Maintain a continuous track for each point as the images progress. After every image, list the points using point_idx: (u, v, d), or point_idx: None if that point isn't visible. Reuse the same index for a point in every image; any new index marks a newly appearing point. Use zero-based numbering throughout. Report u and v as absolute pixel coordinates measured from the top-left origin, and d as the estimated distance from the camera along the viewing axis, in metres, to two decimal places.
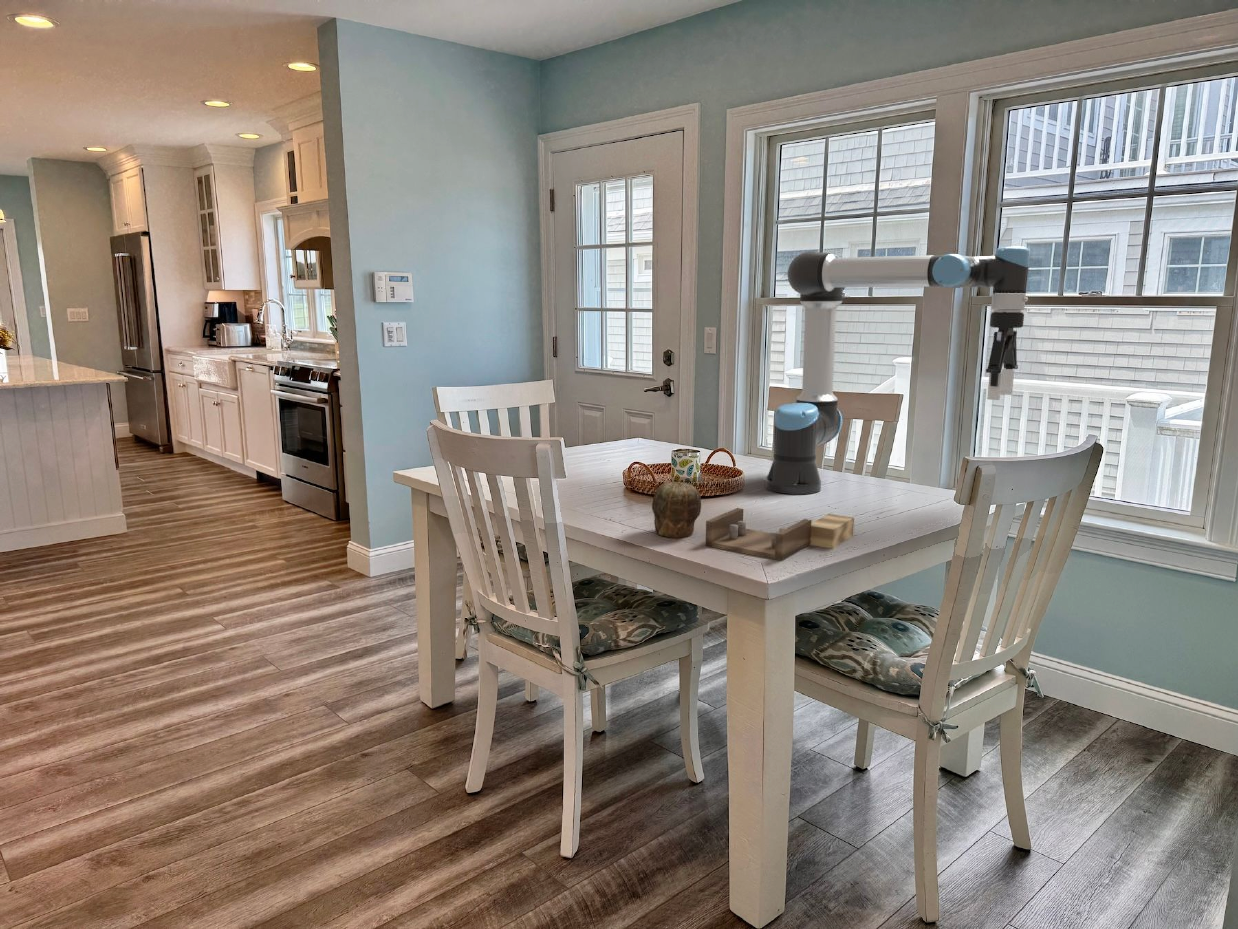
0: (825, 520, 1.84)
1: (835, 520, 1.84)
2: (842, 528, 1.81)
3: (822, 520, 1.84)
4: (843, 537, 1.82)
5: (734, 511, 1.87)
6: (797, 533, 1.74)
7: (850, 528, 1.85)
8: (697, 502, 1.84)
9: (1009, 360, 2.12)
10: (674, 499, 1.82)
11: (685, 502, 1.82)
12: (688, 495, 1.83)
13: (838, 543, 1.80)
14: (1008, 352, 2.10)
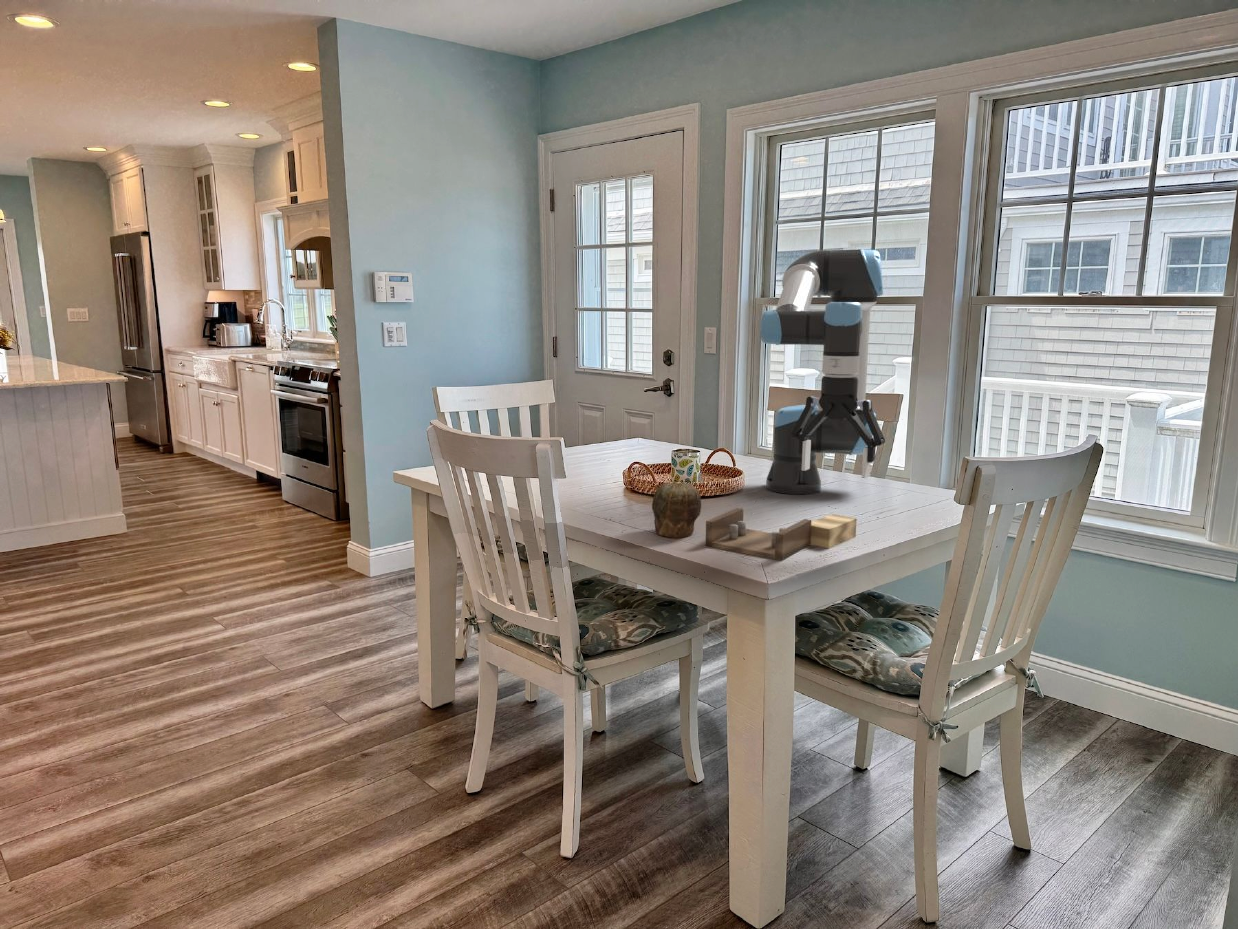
0: (826, 520, 1.84)
1: (835, 520, 1.84)
2: (841, 528, 1.81)
3: (822, 520, 1.84)
4: (843, 537, 1.82)
5: (734, 511, 1.87)
6: (797, 533, 1.74)
7: (852, 529, 1.85)
8: (697, 502, 1.84)
9: None
10: (674, 499, 1.82)
11: (685, 502, 1.82)
12: (688, 495, 1.83)
13: (836, 543, 1.80)
14: None
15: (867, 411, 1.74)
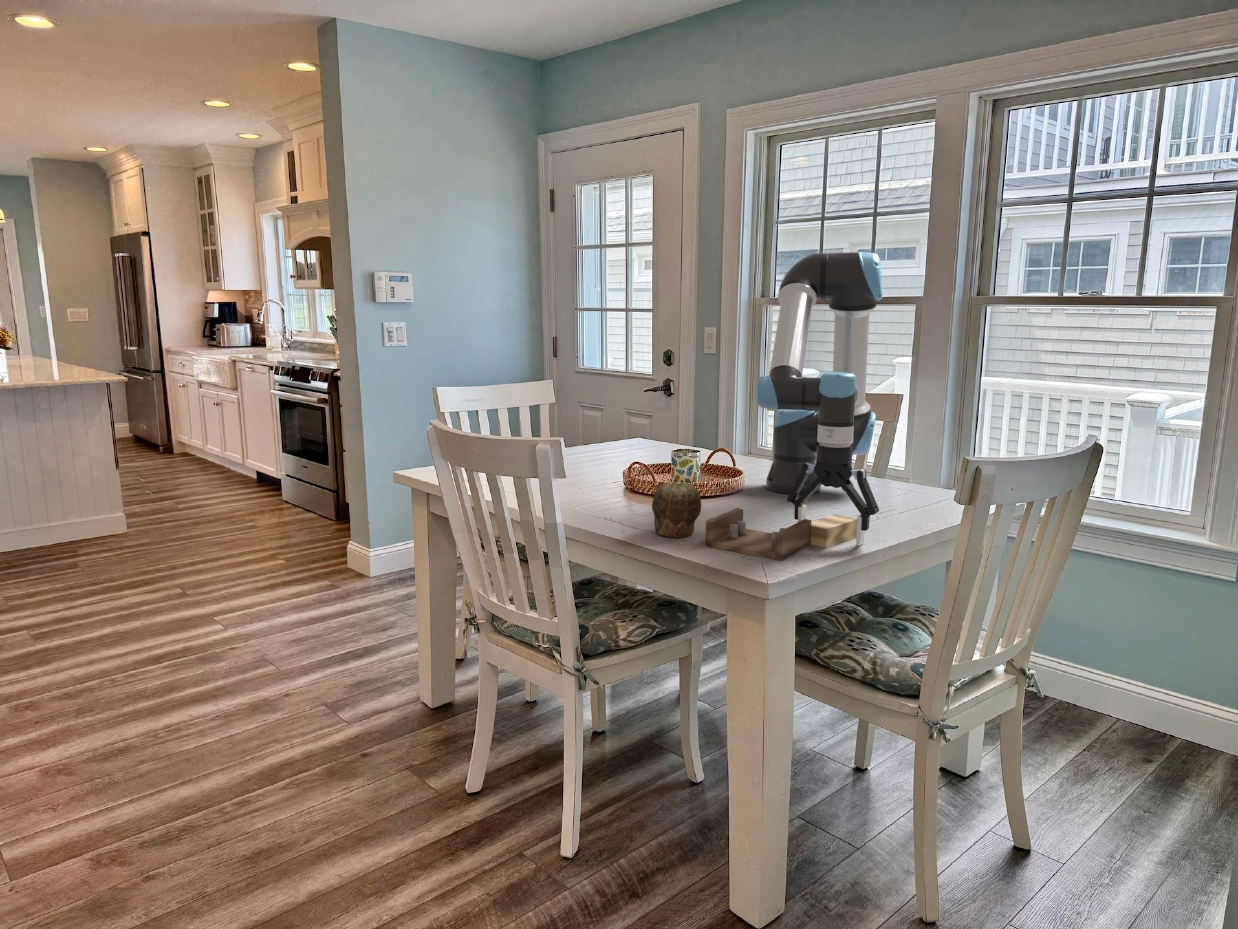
0: (826, 520, 1.84)
1: (836, 521, 1.84)
2: (840, 529, 1.81)
3: (823, 520, 1.84)
4: (842, 538, 1.82)
5: (734, 511, 1.87)
6: (797, 533, 1.74)
7: (853, 529, 1.84)
8: (697, 502, 1.84)
9: None
10: (674, 499, 1.82)
11: (685, 502, 1.82)
12: (688, 495, 1.83)
13: (834, 543, 1.80)
14: None
15: (861, 481, 1.76)
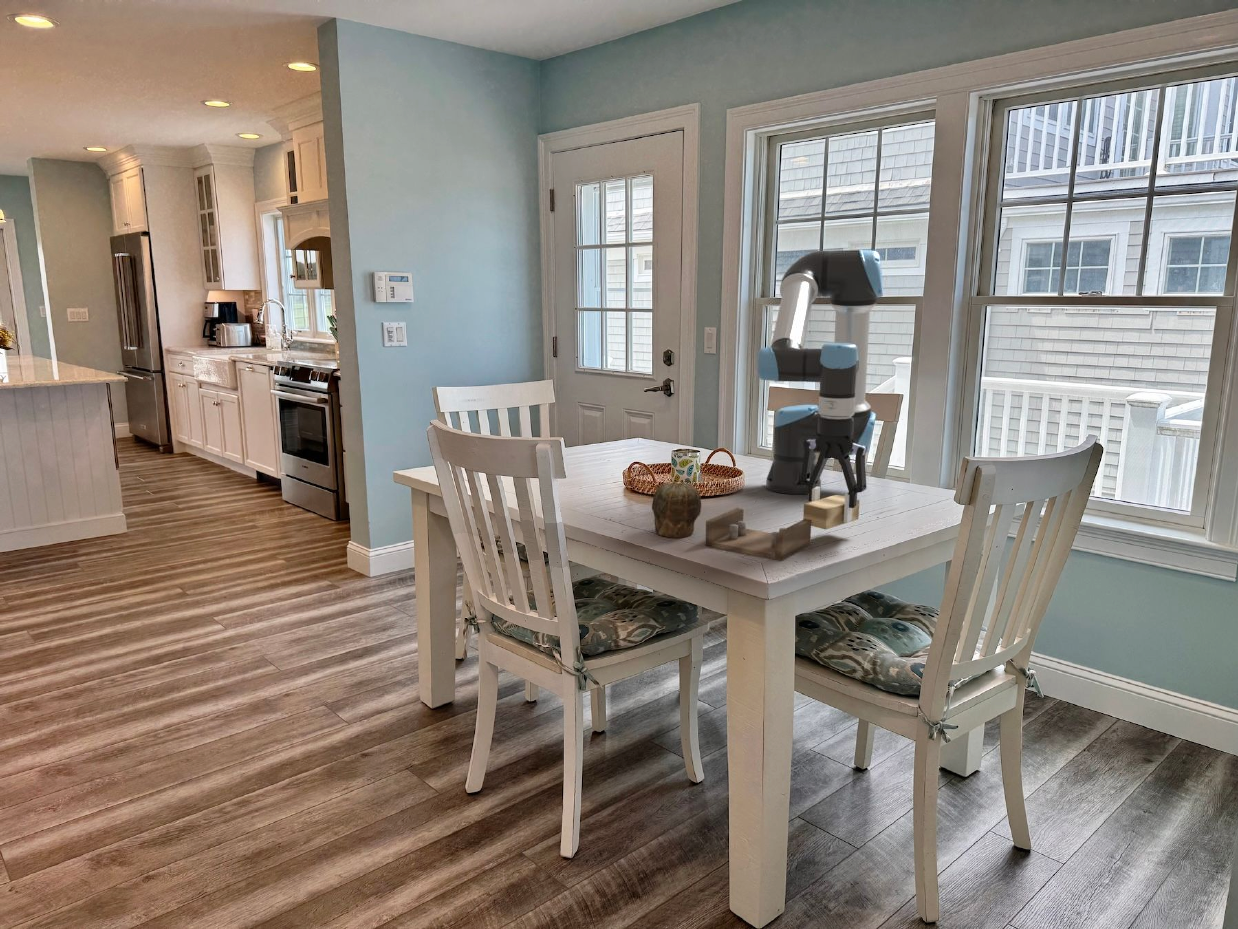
0: (827, 500, 1.84)
1: (837, 501, 1.83)
2: (840, 509, 1.80)
3: (824, 500, 1.84)
4: (843, 518, 1.82)
5: (734, 511, 1.87)
6: (797, 533, 1.74)
7: (854, 510, 1.84)
8: (697, 502, 1.84)
9: None
10: (674, 499, 1.82)
11: (685, 502, 1.82)
12: (688, 495, 1.83)
13: (834, 523, 1.80)
14: None
15: (859, 457, 1.76)
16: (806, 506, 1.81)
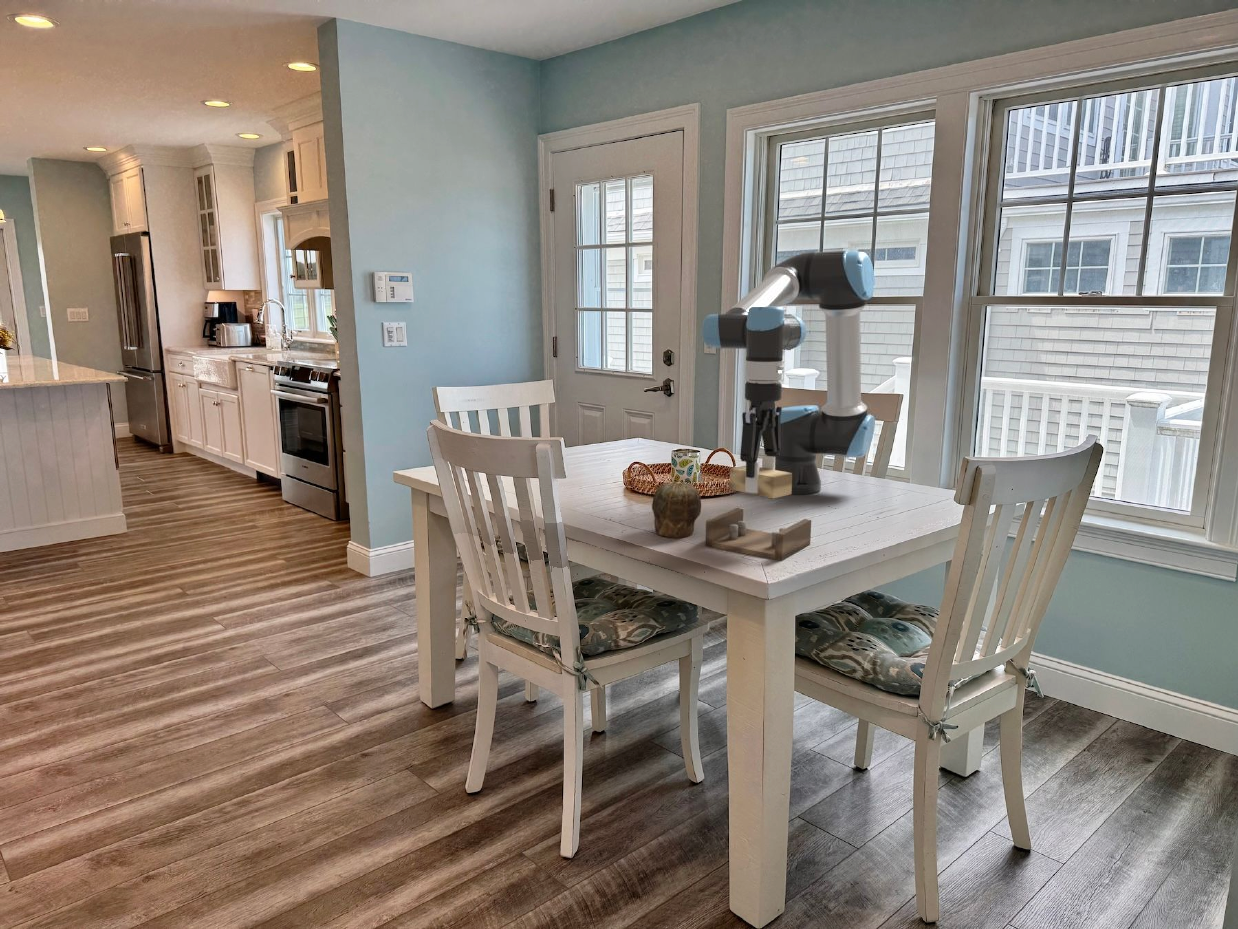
0: None
1: None
2: None
3: None
4: None
5: (734, 511, 1.87)
6: (797, 533, 1.74)
7: None
8: (697, 502, 1.84)
9: (769, 443, 1.78)
10: (674, 499, 1.82)
11: (685, 502, 1.82)
12: (688, 495, 1.83)
13: None
14: (767, 431, 1.77)
15: (780, 417, 1.79)
16: (775, 478, 1.71)
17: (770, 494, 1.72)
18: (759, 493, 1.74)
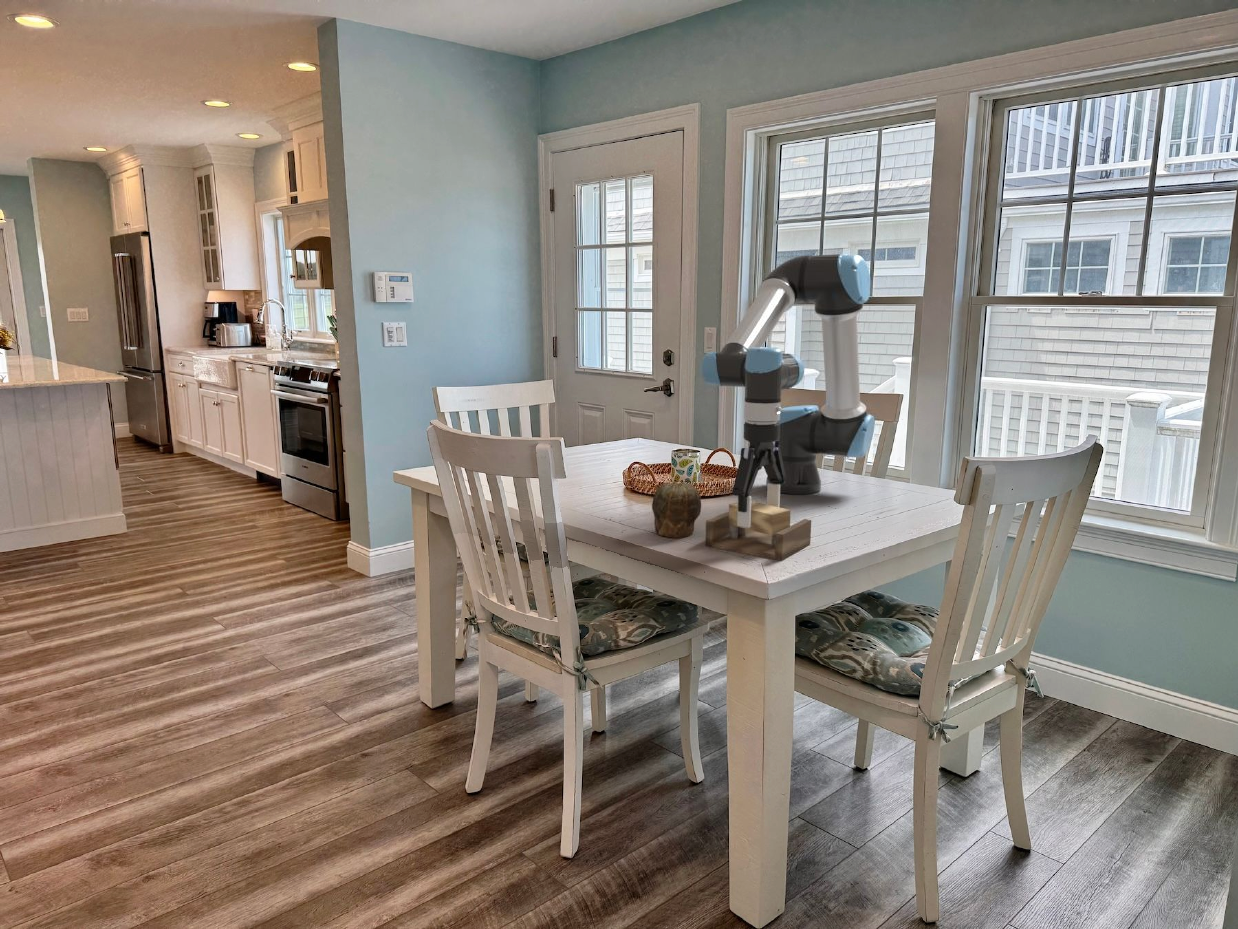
0: (756, 508, 1.78)
1: (757, 505, 1.80)
2: None
3: (755, 508, 1.77)
4: None
5: None
6: (797, 533, 1.74)
7: None
8: (697, 502, 1.84)
9: (773, 475, 1.81)
10: (674, 499, 1.82)
11: (685, 502, 1.82)
12: (688, 495, 1.83)
13: None
14: (769, 466, 1.80)
15: (780, 450, 1.81)
16: (774, 516, 1.73)
17: (768, 531, 1.73)
18: (758, 530, 1.76)
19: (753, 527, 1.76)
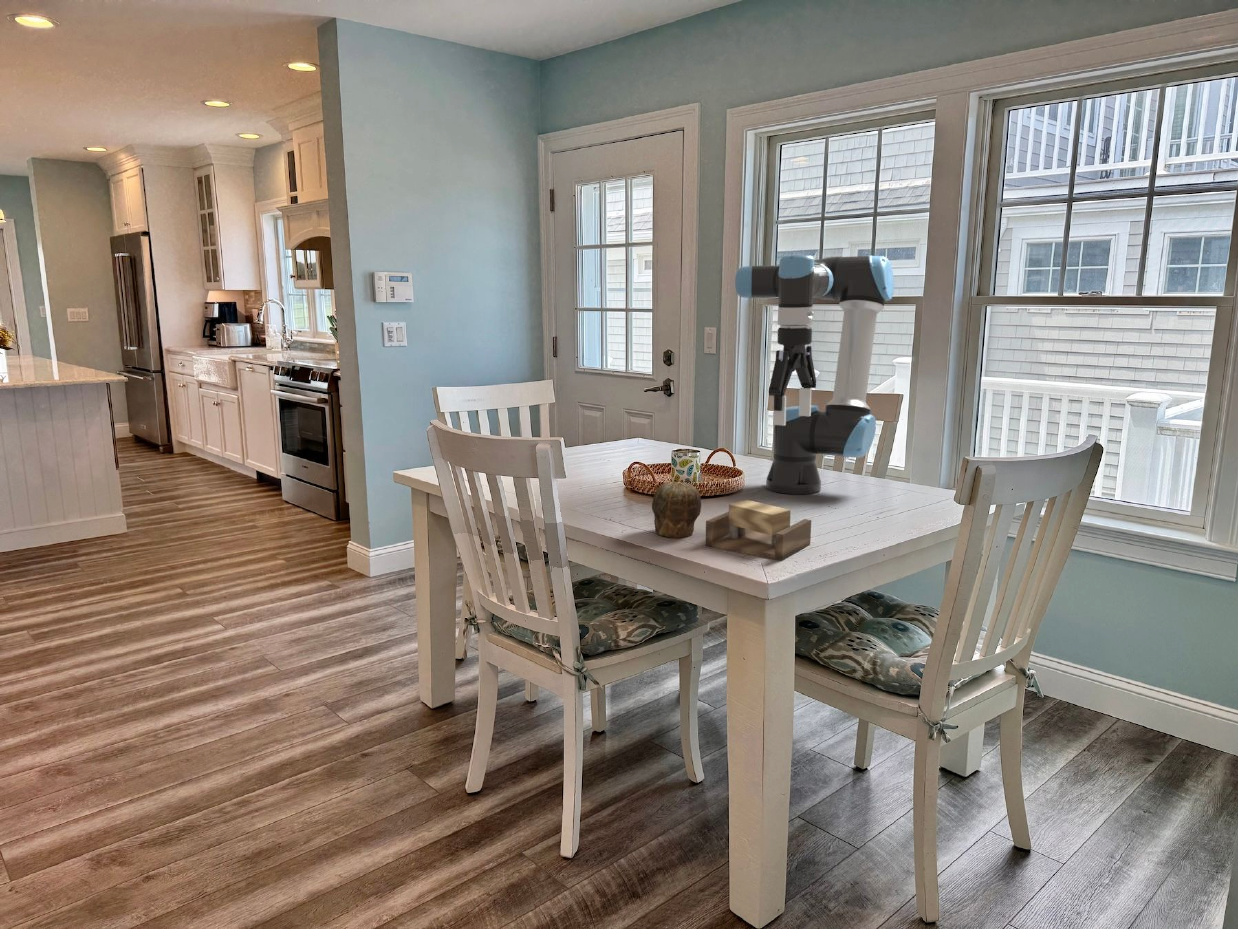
0: (756, 508, 1.78)
1: (757, 505, 1.80)
2: None
3: (755, 508, 1.77)
4: None
5: None
6: (797, 533, 1.74)
7: None
8: (697, 502, 1.84)
9: (804, 379, 1.93)
10: (674, 499, 1.82)
11: (685, 502, 1.82)
12: (688, 495, 1.83)
13: None
14: (801, 370, 1.91)
15: (811, 355, 1.92)
16: (774, 516, 1.73)
17: (768, 531, 1.73)
18: (758, 530, 1.76)
19: (753, 527, 1.76)
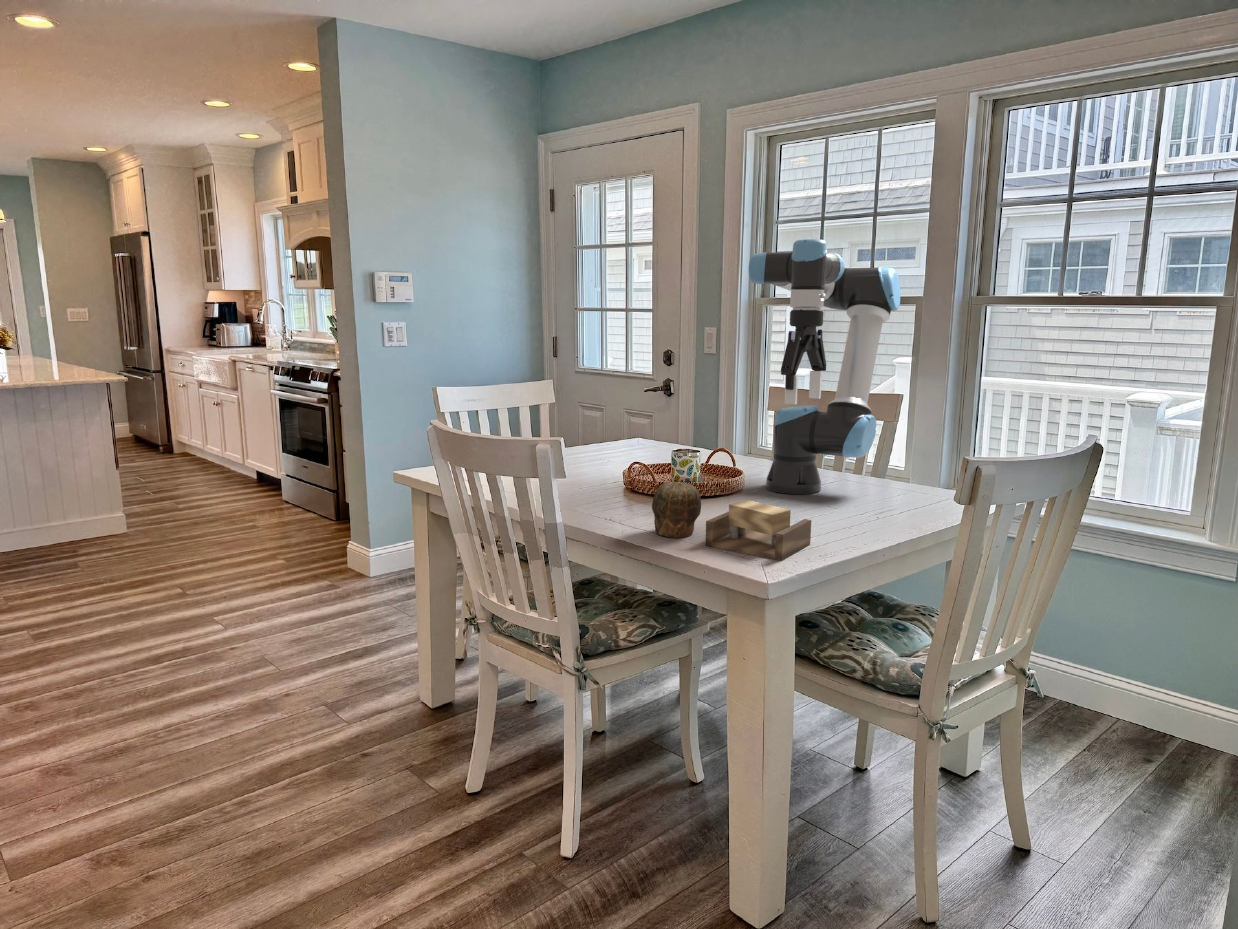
0: (756, 508, 1.78)
1: (757, 505, 1.80)
2: None
3: (755, 508, 1.77)
4: None
5: None
6: (797, 533, 1.74)
7: None
8: (697, 502, 1.84)
9: (815, 361, 1.98)
10: (674, 499, 1.82)
11: (685, 502, 1.82)
12: (688, 495, 1.83)
13: None
14: (812, 353, 1.96)
15: None
16: (774, 516, 1.73)
17: (768, 531, 1.73)
18: (758, 530, 1.76)
19: (753, 527, 1.76)
